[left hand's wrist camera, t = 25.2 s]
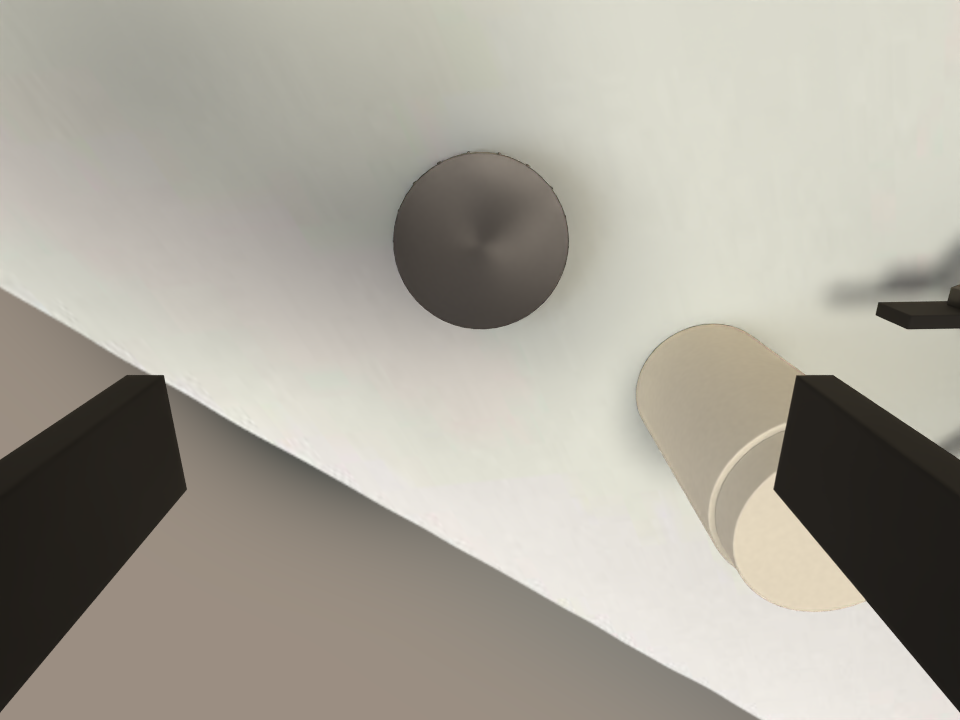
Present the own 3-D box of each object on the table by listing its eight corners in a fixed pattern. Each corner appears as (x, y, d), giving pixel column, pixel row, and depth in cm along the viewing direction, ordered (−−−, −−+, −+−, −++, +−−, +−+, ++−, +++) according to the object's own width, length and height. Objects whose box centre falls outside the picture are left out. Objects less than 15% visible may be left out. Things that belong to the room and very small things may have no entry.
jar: (792, 410, 42) (969, 564, 27) (669, 469, 43) (770, 646, 28) (742, 298, 39) (909, 399, 24) (613, 366, 41) (692, 501, 25)
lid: (372, 184, 36) (365, 187, 34) (538, 127, 35) (542, 126, 33) (430, 338, 40) (427, 350, 38) (582, 290, 39) (589, 299, 36)
